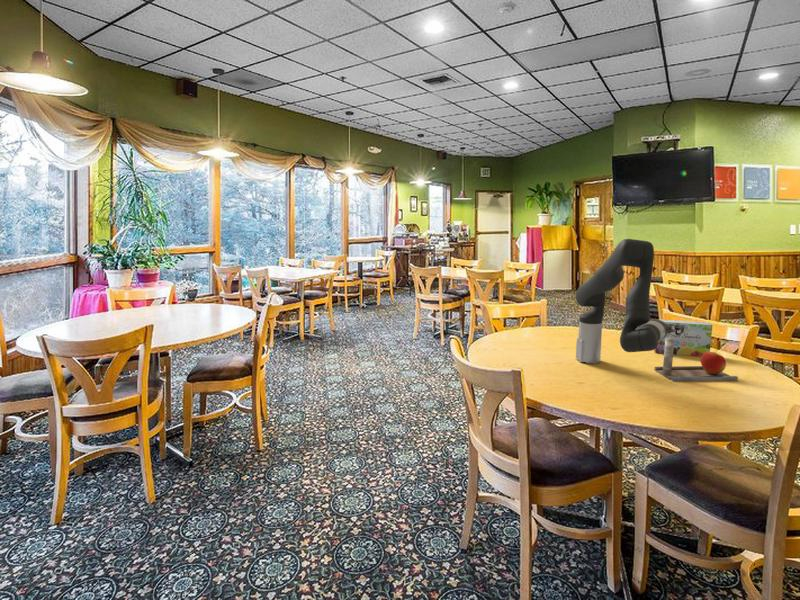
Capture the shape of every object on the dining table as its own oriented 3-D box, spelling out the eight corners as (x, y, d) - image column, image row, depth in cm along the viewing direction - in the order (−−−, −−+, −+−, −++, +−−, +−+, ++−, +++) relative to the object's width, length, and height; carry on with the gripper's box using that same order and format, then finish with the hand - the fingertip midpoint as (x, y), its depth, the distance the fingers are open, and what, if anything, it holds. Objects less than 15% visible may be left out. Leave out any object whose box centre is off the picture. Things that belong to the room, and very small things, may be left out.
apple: (696, 369, 187) (698, 345, 186) (719, 371, 185) (722, 346, 184) (703, 376, 180) (706, 350, 178) (728, 377, 178) (730, 352, 176)
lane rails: (673, 381, 176) (673, 377, 176) (654, 370, 190) (654, 366, 189) (737, 380, 176) (738, 376, 176) (714, 369, 189) (714, 366, 189)
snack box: (655, 353, 214) (657, 321, 211) (653, 350, 219) (656, 318, 216) (709, 357, 206) (712, 324, 203) (706, 354, 211) (709, 321, 208)
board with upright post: (670, 379, 178) (673, 342, 176) (656, 371, 188) (658, 336, 185) (733, 379, 178) (737, 341, 175) (716, 370, 187) (720, 335, 185)
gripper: (677, 323, 155) (687, 316, 167) (631, 318, 164) (644, 312, 176) (675, 345, 156) (686, 337, 168) (629, 339, 165) (642, 332, 177)
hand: (664, 324), depth 172 cm, fingers open, 8 cm apart
